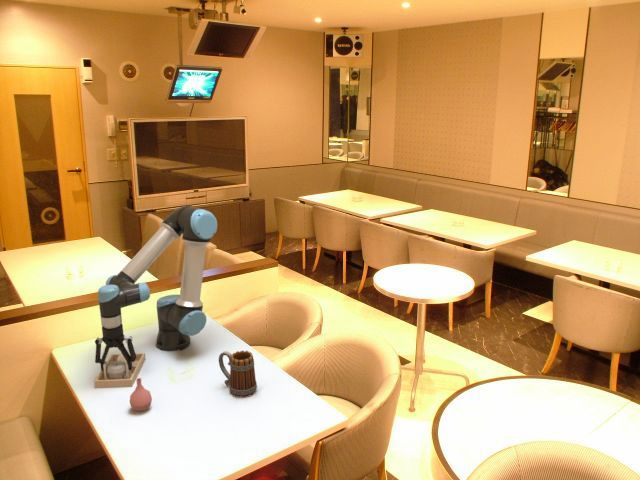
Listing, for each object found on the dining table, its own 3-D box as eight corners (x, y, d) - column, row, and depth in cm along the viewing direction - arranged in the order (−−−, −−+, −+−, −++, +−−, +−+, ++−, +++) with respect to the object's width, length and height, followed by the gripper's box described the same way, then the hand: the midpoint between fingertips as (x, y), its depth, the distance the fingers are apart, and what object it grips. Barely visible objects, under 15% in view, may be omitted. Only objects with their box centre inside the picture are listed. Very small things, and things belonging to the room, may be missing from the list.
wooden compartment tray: (145, 360, 234) (145, 353, 233) (132, 388, 213) (131, 379, 212) (112, 361, 233) (111, 354, 232) (95, 389, 212) (94, 381, 211)
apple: (132, 377, 218) (130, 362, 216) (113, 385, 212) (111, 370, 211) (122, 370, 223) (120, 356, 221) (103, 378, 218) (102, 363, 216)
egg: (134, 362, 231) (133, 350, 230) (130, 369, 226) (129, 356, 224) (119, 363, 231) (118, 350, 229) (115, 370, 225) (114, 357, 224)
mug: (262, 387, 214) (261, 352, 210) (247, 400, 204) (246, 364, 200) (228, 378, 220) (226, 344, 216) (213, 391, 211) (211, 356, 207)
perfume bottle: (129, 405, 201) (126, 376, 198) (151, 401, 204) (148, 372, 201) (131, 416, 194) (128, 386, 191) (153, 412, 197) (151, 382, 194)
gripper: (141, 319, 216) (146, 371, 222) (87, 321, 214) (94, 373, 220) (137, 327, 209) (142, 381, 215) (81, 329, 207) (88, 383, 213)
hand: (117, 377), depth 218 cm, fingers closed on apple, 8 cm apart
